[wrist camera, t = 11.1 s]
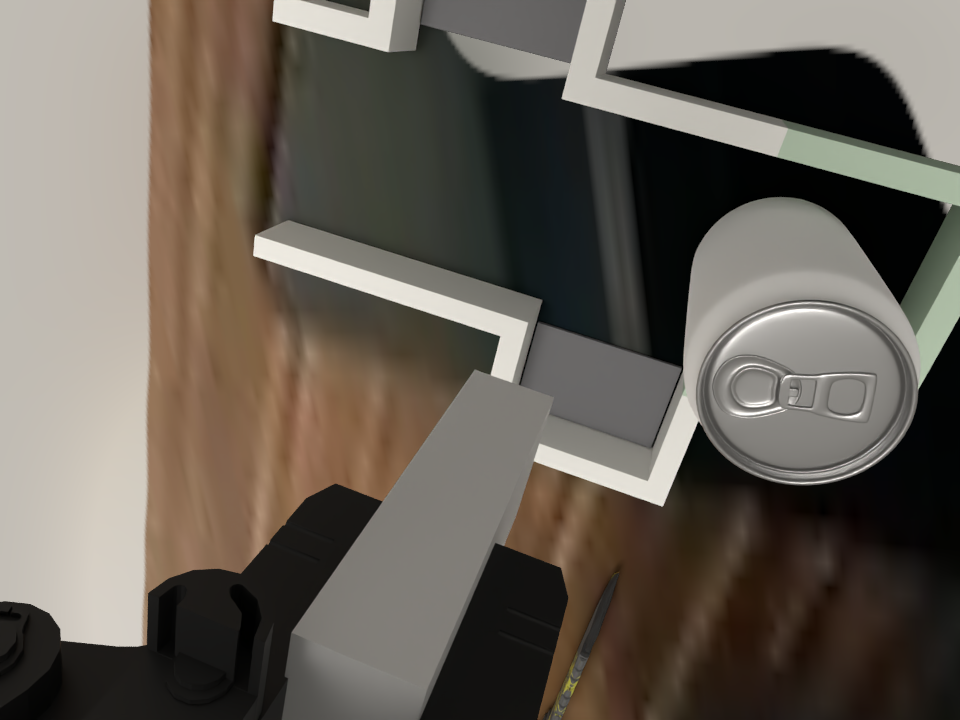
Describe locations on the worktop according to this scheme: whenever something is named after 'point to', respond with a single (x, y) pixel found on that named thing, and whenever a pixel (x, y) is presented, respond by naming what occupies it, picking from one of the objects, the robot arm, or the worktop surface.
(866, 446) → the can
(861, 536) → the worktop surface
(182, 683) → the robot arm
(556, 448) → the trap tray
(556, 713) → the knife
